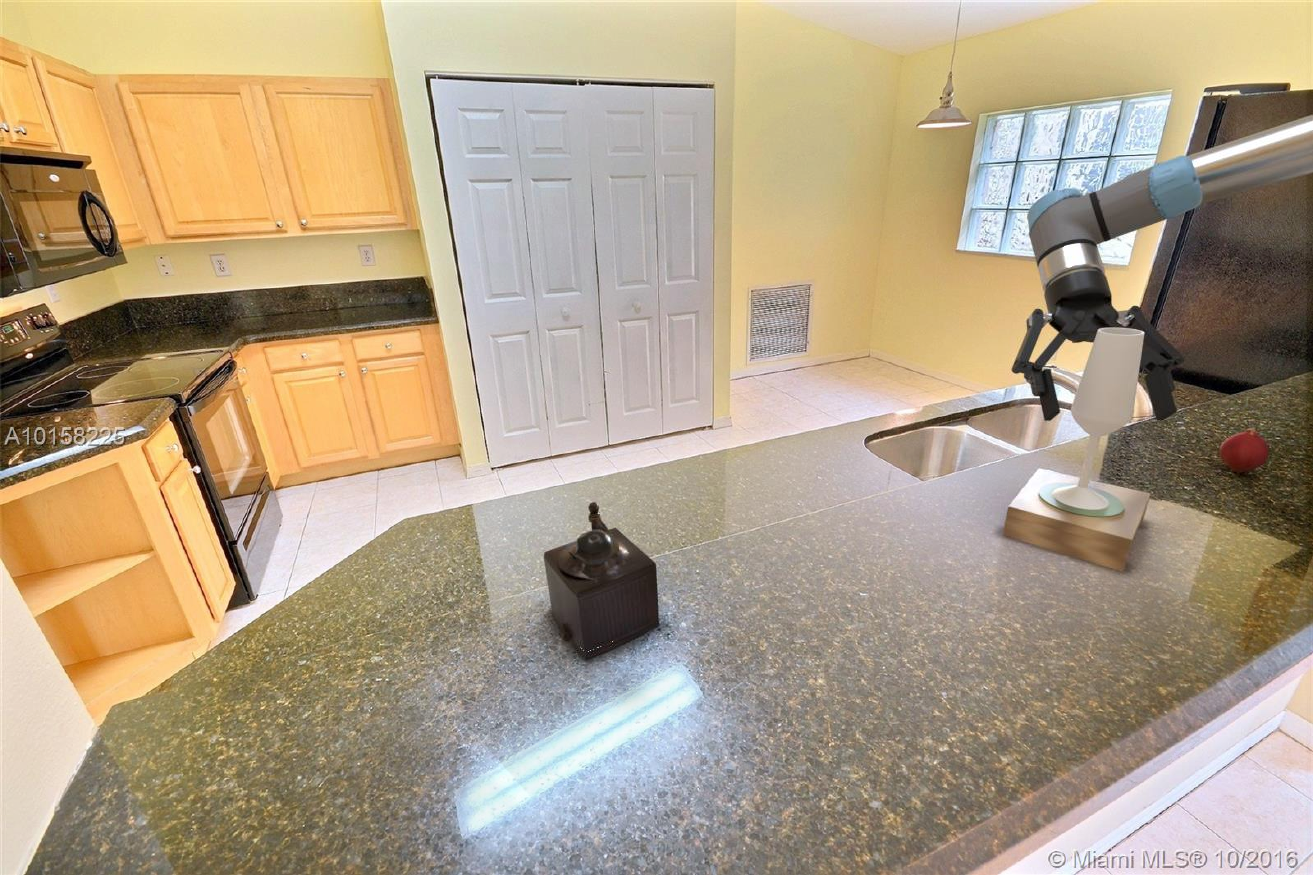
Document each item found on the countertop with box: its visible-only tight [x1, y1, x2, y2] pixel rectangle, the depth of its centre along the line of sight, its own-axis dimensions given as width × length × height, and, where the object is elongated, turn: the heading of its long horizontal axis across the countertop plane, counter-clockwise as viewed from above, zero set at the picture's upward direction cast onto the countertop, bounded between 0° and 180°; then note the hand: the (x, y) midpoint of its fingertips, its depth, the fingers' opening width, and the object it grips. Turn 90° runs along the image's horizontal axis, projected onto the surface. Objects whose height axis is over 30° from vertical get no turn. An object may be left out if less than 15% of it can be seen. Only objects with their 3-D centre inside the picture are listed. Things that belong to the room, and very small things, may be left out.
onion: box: [1218, 428, 1270, 474], centre depth 96 cm, size 6×6×8 cm
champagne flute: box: [1052, 328, 1144, 510], centre depth 78 cm, size 7×7×24 cm
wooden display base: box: [1002, 468, 1152, 572], centre depth 83 cm, size 14×16×5 cm
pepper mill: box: [543, 501, 660, 661], centre depth 66 cm, size 16×11×18 cm
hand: (1108, 416), depth 76 cm, fingers open, 13 cm apart
